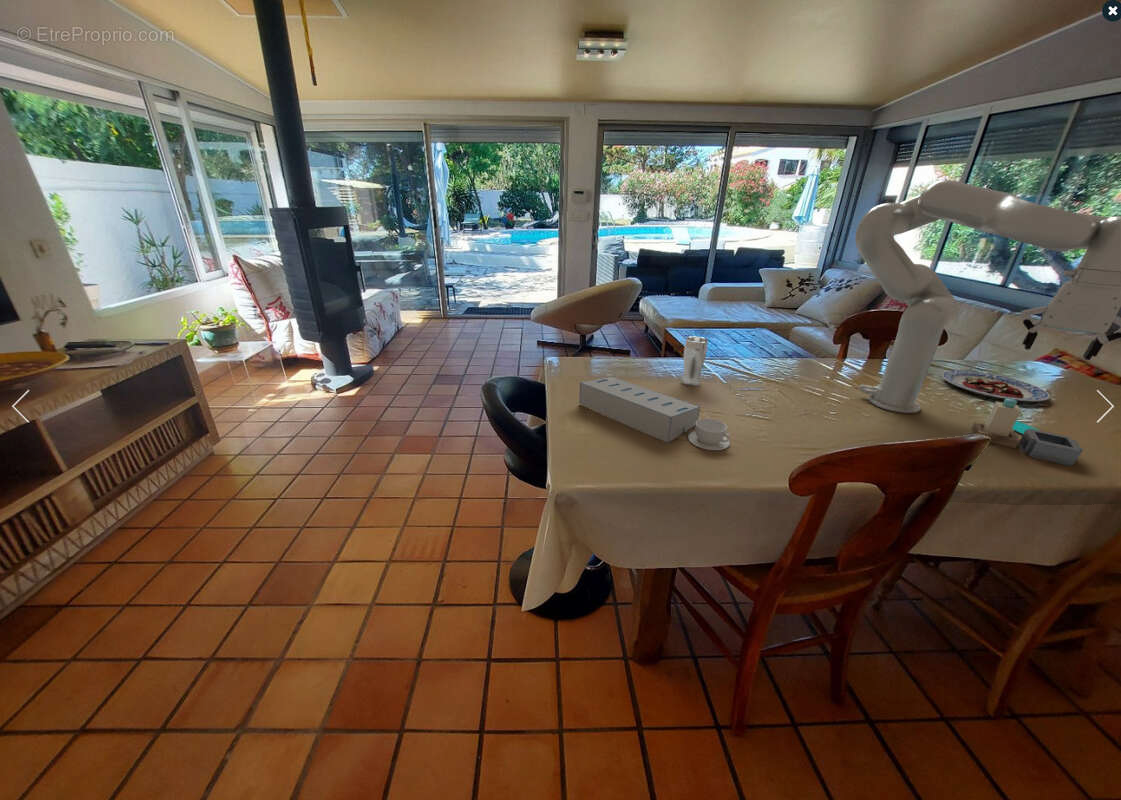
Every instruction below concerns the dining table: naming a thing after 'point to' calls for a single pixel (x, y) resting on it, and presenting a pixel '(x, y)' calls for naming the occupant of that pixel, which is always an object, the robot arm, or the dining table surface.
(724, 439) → the teacup
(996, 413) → the plug
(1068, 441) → the socket
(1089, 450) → the dining table surface
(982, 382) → the ceramic plate
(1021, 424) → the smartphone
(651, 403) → the slotted grey box
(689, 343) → the beer glass
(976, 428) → the holster
